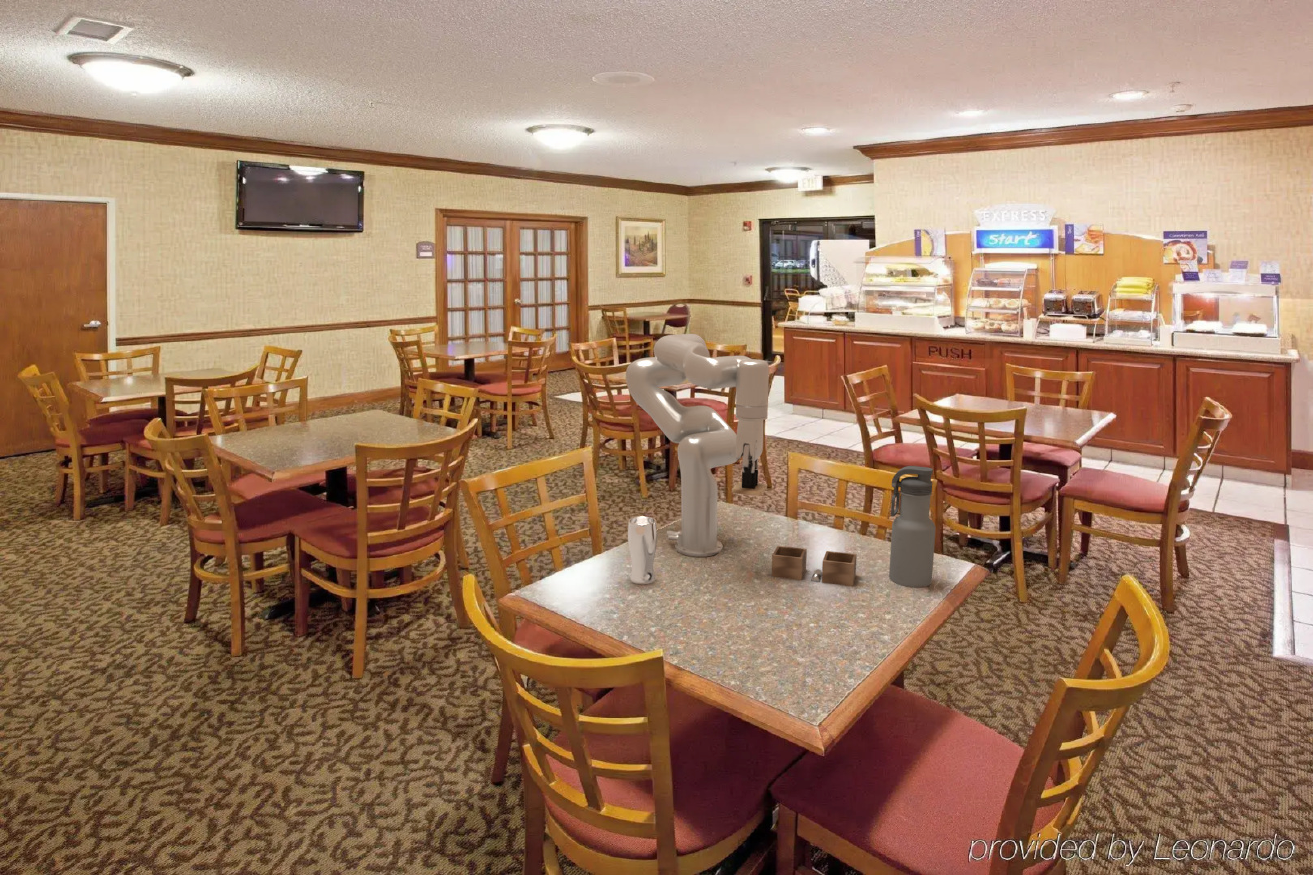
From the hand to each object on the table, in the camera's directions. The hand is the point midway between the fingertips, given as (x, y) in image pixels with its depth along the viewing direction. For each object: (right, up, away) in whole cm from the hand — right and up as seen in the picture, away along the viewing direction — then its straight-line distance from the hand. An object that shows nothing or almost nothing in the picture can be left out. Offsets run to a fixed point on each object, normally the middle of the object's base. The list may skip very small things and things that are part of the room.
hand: (749, 486), depth 193 cm
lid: (0, -1, 0) cm, 1 cm away
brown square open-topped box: (+21, -23, -2) cm, 31 cm away
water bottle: (+38, -23, -2) cm, 44 cm away
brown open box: (+10, -22, +2) cm, 24 cm away
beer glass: (-26, -23, 0) cm, 35 cm away
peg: (+15, -22, -1) cm, 27 cm away
